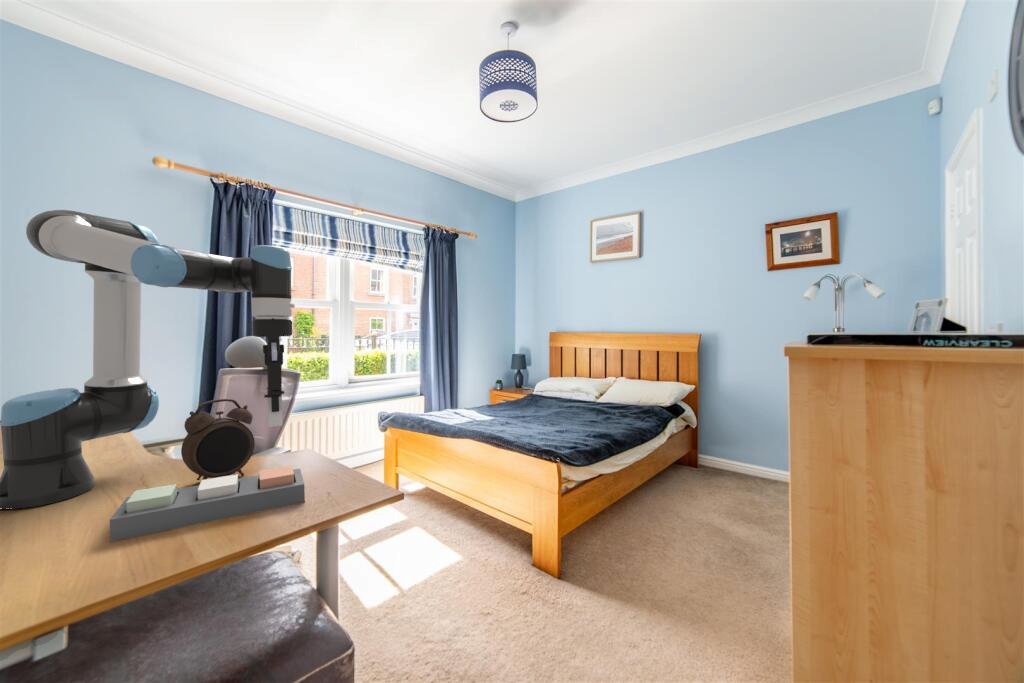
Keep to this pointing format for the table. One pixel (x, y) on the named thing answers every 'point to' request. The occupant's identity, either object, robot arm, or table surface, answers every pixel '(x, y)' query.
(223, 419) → the alarm clock
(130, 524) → the keypad
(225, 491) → the key offwhite
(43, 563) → the table surface
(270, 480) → the key terracotta
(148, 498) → the key sage
